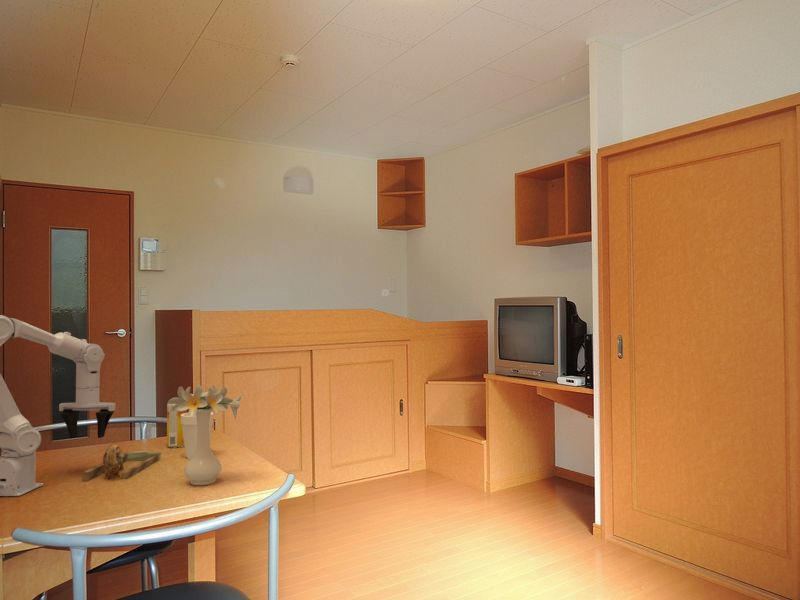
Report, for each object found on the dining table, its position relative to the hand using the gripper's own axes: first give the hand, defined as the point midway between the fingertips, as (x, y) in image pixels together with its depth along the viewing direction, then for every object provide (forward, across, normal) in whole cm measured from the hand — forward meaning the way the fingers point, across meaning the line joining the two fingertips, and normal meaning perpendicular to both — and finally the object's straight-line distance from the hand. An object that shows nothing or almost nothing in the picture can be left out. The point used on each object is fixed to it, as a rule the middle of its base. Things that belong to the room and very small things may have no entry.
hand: (87, 437), depth 161 cm
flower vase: (+10, -35, +8) cm, 37 cm away
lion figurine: (+10, -8, +1) cm, 13 cm away
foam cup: (+10, -24, -19) cm, 32 cm away
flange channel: (+10, -8, -4) cm, 14 cm away
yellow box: (+10, -12, -33) cm, 36 cm away
